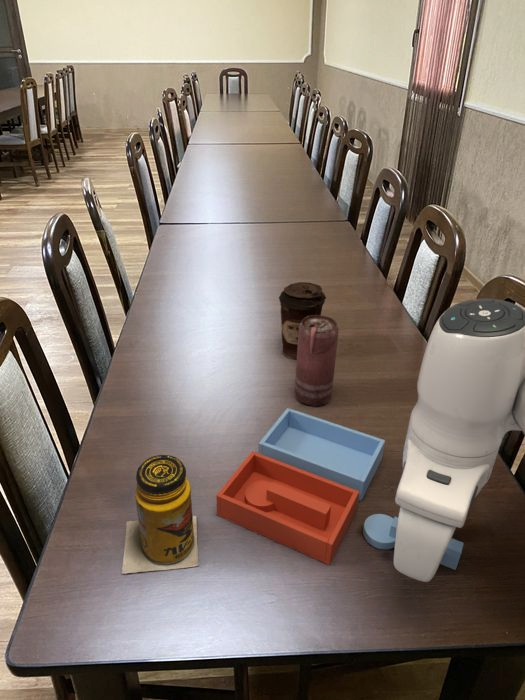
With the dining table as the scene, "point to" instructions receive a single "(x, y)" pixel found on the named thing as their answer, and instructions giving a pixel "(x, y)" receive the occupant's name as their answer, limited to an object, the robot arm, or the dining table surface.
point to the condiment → (161, 519)
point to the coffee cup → (298, 312)
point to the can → (316, 359)
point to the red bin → (279, 524)
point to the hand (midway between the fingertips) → (425, 540)
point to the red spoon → (288, 503)
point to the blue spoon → (383, 536)
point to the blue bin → (324, 449)
